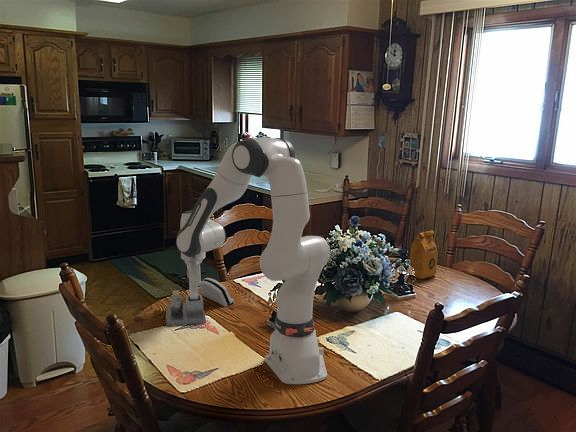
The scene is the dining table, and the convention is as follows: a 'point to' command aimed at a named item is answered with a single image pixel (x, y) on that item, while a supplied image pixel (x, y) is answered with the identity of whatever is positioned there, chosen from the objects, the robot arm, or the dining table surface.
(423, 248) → the coffee package
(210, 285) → the napkin holder
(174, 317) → the grey twin-post block
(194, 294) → the tan capped white cylinder
